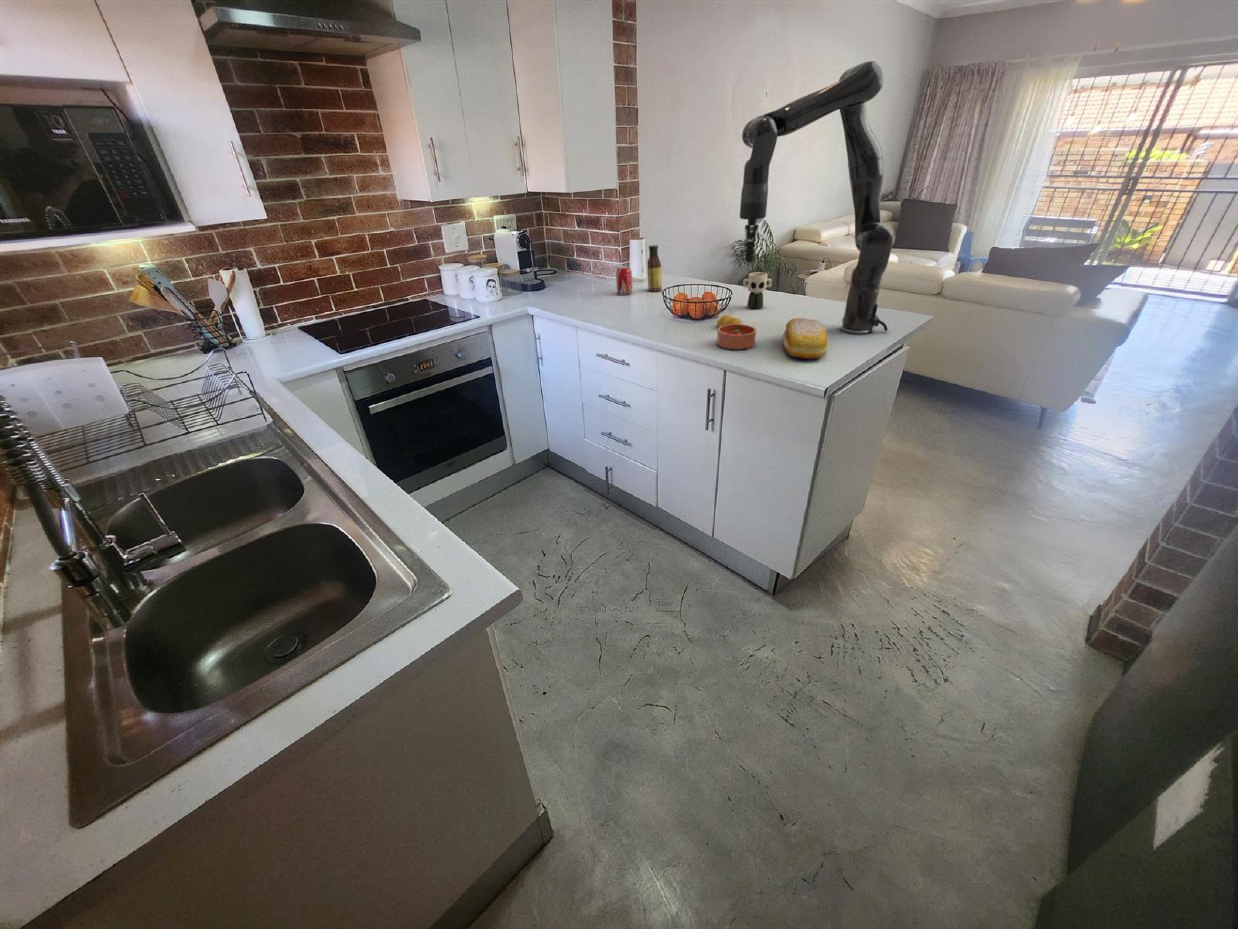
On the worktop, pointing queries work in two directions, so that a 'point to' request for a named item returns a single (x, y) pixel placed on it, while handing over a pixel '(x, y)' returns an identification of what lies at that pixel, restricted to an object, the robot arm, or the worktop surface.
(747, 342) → the bowl
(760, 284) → the character mug
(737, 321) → the bread roll
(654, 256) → the sauce bottle
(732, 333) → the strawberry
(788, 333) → the bread
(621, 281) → the soda can
